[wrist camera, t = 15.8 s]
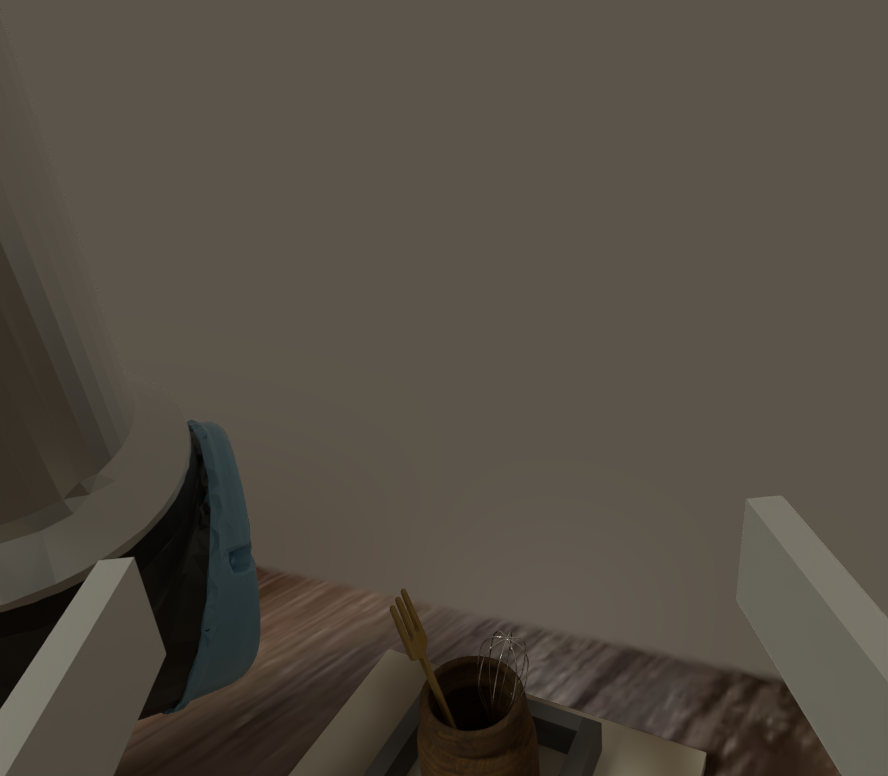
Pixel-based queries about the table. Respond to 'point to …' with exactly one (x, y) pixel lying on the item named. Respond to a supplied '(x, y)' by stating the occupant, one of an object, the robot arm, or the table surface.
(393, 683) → the collar board
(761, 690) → the table surface
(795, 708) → the table surface
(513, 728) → the utensil holder
